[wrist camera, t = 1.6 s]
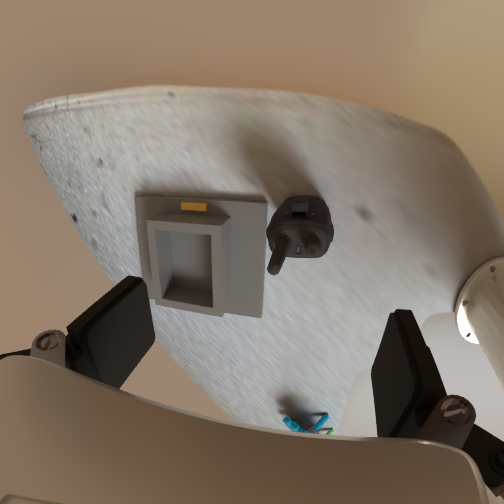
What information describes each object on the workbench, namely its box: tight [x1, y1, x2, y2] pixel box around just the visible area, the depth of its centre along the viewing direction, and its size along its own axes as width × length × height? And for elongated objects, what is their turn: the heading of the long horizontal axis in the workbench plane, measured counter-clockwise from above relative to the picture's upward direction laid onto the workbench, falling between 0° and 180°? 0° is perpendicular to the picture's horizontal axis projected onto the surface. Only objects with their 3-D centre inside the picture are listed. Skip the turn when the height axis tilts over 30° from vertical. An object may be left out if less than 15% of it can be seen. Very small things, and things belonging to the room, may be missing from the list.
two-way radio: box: [266, 196, 334, 275], centre depth 24 cm, size 6×4×15 cm
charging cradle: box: [135, 195, 268, 318], centre depth 34 cm, size 16×14×4 cm
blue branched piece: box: [282, 414, 334, 435], centre depth 40 cm, size 11×6×10 cm
